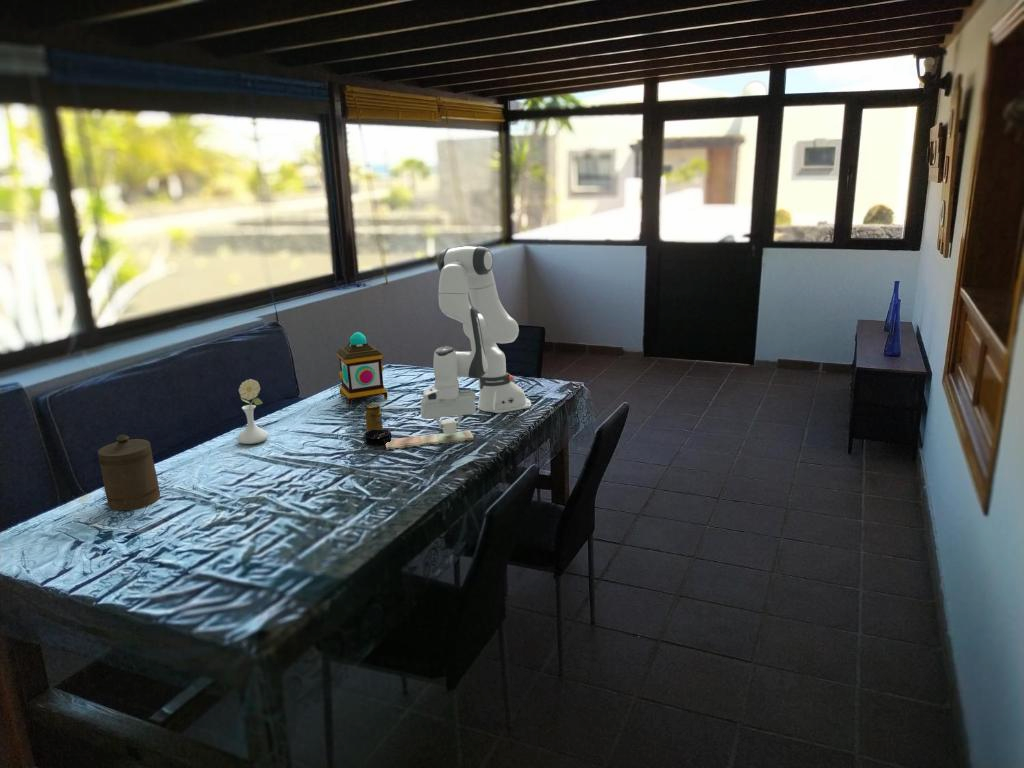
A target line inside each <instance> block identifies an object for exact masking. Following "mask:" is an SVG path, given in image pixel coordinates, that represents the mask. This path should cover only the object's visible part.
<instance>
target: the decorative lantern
mask: <svg viewBox="0 0 1024 768" xmlns="http://www.w3.org/2000/svg"><path fill="white" fill-rule="evenodd" d="M336 355H337V357H338V359H339V367H340V371H339V372H338V378H339V379H340V380H341V385H340V387H339V393H340V396H341V397H345V398H346V399H347V403H348V406H352V405H353V404H352V403H353V400H356V399H363V398H370V397H374V396H375V397H376V396H383V399H384V400H388V392H387V390H386V388H385V386H384V375H383V372H384V364H383V363H382V358H383V356H384V354H383V352H381V351H380V350H379V349H378V348H376V347H375V346H374V345H373V344H372V343H368V342H367V337H366V336H365V335H364V334H363V333H362V332H359V331H357V332H354V333H353V334H352V335H351V336H350V338H349V342H348V344H346V345H345V346H344V347H340V348H339V349H338V350H337V351H336Z"/></svg>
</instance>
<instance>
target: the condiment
mask: <svg viewBox="0 0 1024 768" xmlns="http://www.w3.org/2000/svg"><path fill="white" fill-rule="evenodd" d="M380 407H381V405H379V404H377V403H372V404H371V403H370V404H366V406H365V415H364V416H365V427H366V432H367V431H370V430H383V431H384V428H383V427H384V426H383V417H382V416H383V415H382V411H381V408H380ZM363 435H364V434H362V437H364V436H363Z"/></svg>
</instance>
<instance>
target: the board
mask: <svg viewBox="0 0 1024 768" xmlns="http://www.w3.org/2000/svg"><path fill="white" fill-rule="evenodd" d="M390 439H391V441H390V442H387V443H386V444H385V448H386V451H387V450H388V451H389V449H391V450H396V449H395V448H399V449H405V447H408V448H414V447H413V446H417V447H421V446H420V445H425V446H431V445H430V444H434V445H439V444H438V443H443V444H449V443H450V442H451V443H459V441H460V442H466V441H465V440H468V441H474V440H475V438H474V436H473V434H472V431H471V430H469V429H468V430H459V431H457V433H451V434H444V432H443V433H441V432H440V433H434V434H425V435H417V436H406V437H399V438H390ZM451 443H450V444H451Z"/></svg>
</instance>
